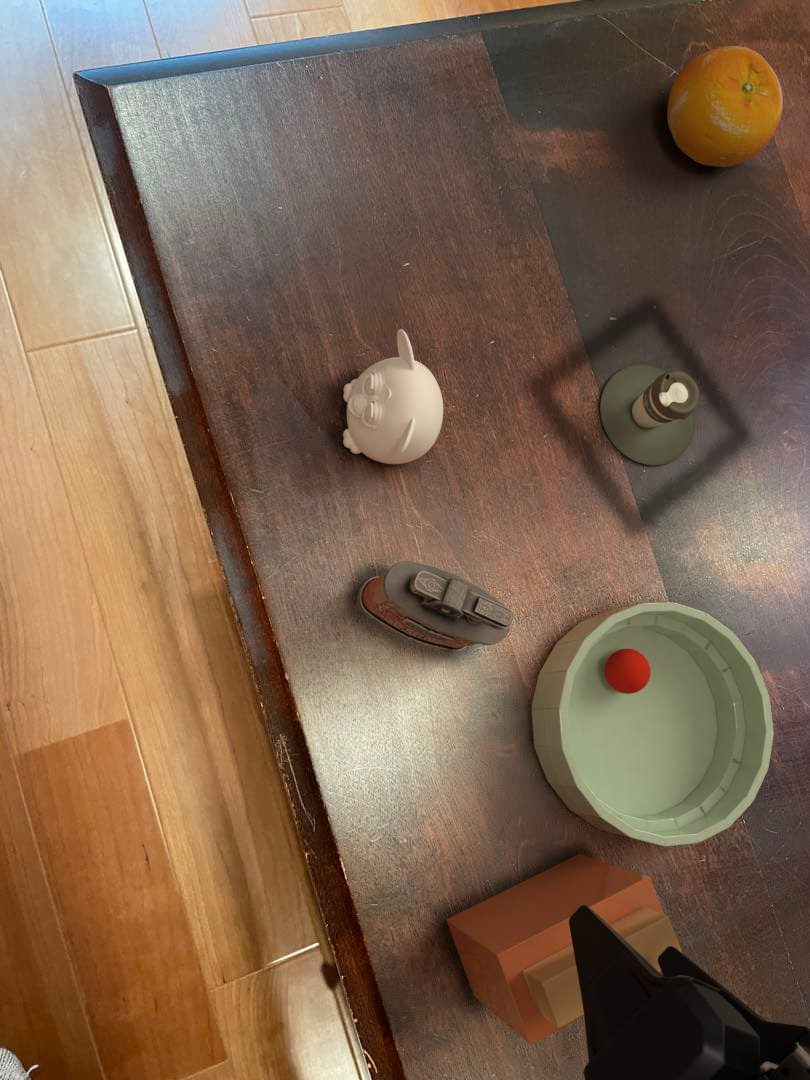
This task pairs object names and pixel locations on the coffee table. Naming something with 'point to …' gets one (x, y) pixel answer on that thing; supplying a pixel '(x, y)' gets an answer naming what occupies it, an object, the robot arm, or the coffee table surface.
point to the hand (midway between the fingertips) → (623, 933)
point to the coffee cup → (649, 413)
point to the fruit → (725, 106)
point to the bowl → (654, 725)
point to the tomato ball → (627, 671)
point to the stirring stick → (558, 973)
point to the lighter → (434, 608)
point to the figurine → (393, 408)
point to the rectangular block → (538, 931)
